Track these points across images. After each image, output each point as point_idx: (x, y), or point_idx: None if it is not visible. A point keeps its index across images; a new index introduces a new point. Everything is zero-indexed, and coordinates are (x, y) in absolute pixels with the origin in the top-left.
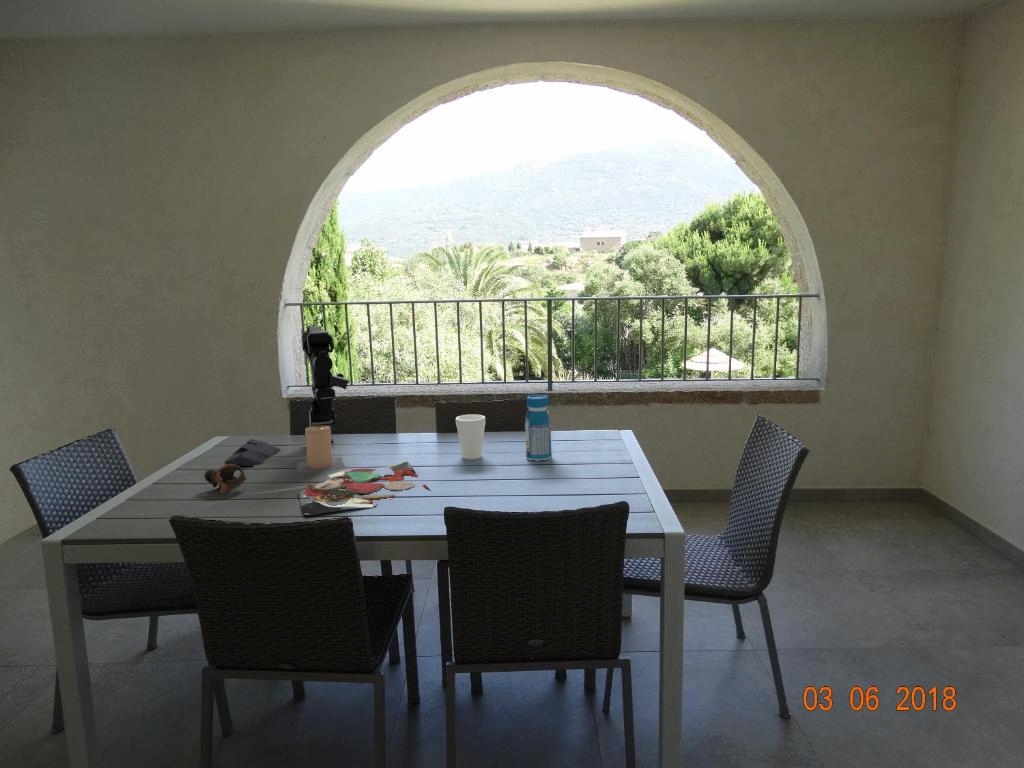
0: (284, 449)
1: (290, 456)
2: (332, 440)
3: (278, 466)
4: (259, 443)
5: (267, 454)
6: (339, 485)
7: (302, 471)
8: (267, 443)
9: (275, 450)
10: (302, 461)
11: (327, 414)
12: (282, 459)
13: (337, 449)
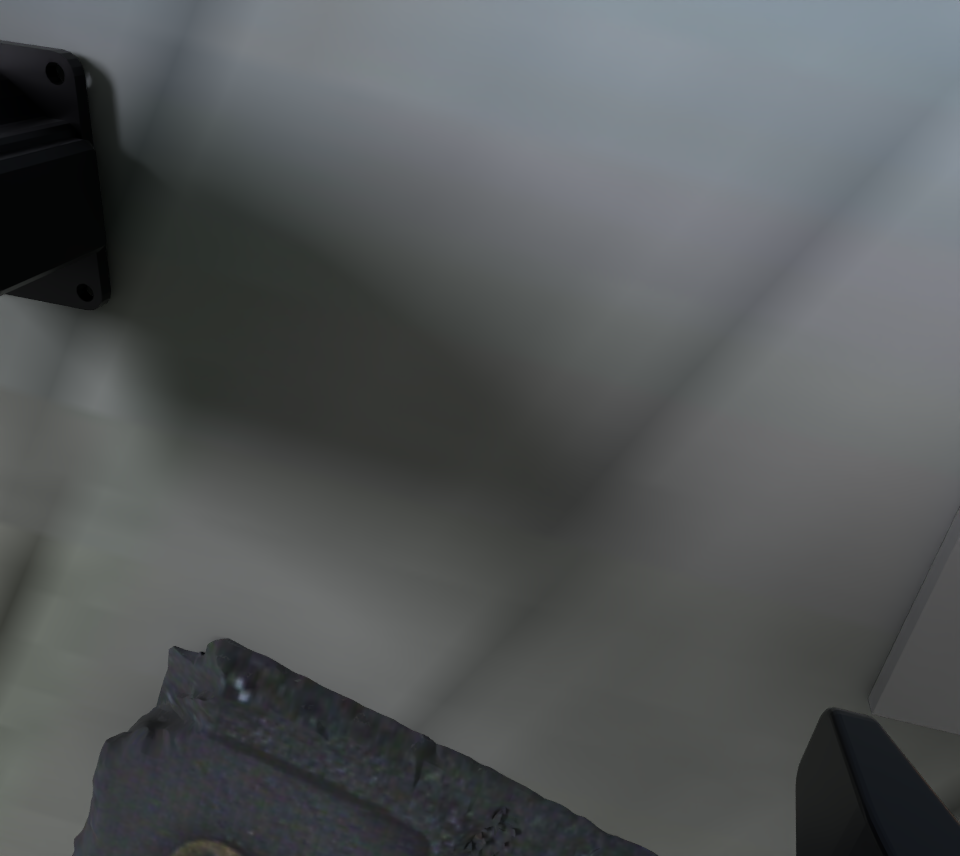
0: (190, 603)
1: (503, 644)
2: (22, 60)
3: None
4: (175, 839)
5: (453, 824)
6: None
7: None
8: (140, 765)
9: (312, 727)
10: (905, 666)
11: (917, 808)
12: (576, 725)
13: (492, 103)
